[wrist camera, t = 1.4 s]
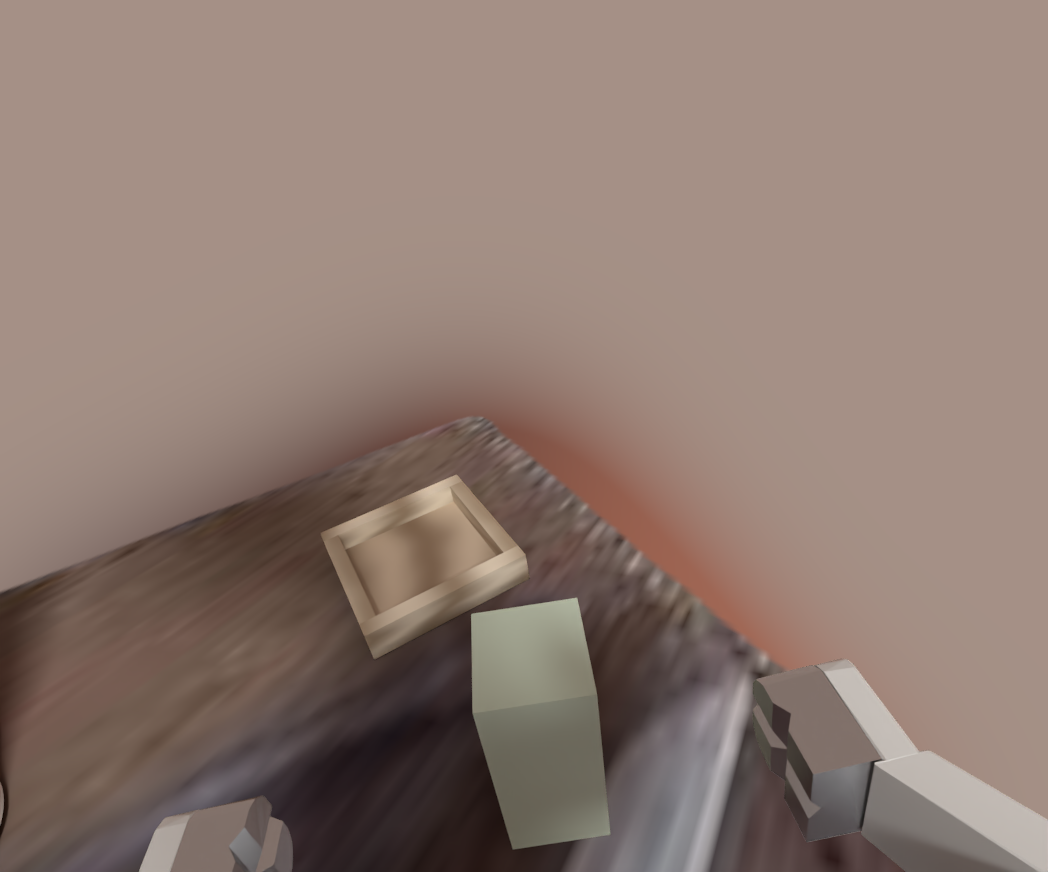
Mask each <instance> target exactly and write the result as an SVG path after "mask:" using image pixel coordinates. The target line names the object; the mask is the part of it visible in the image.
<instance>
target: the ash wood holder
mask: <svg viewBox="0 0 1048 872" xmlns="http://www.w3.org/2000/svg"><path fill="white" fill-rule="evenodd" d="M320 534H321V537H322V539H323V541H324V544H325V546H326V549H327V551H328V553H329V556H330V558H331V560H332V563H333V565H334V567H335V570H336V572H337V574H338V577H339V579H340V581H341V584H342V586H343V588H344V591H345V593H346V595H347V598H348V600H349V602H350V605H351V607H352V609H353V612H354V614H355V616H356V619H357V621H358V623H359V626H360V628H361V630H362V633H363V635H364V637H365V640H366V642H367V644H368V647H369V649H370V651H371V654H372V656H373V658H374V660H375V659H377V658H379V657H381V656H382V655H384V654H386V653H388V652H390V651H392V650H394V649H396V648H398V647H400V646H402V645H404V644H405V643H407V642H409V641H411V640H413V639H415V638H417V637H419V636H421V635H423V634H425V633H426V632H428V631H430V630H432V629H434V628H436V627H438V626H440V625H442V624H444V623H446V622H448V621H449V620H451V619H453V618H455V617H457V616H459V615H461V614H463V613H465V612H467V611H469V610H470V609H472V608H474V607H476V606H478V605H480V604H482V603H484V602H486V601H488V600H490V599H492V598H493V597H495V596H497V595H499V594H501V593H503V592H505V591H507V590H509V589H511V588H513V587H514V586H516V585H518V584H520V583H522V582H524V581H526V580H528V579H530V578H529V572H528V566H527V560H526V555H525V554H524V552H523V551H522V550H521V549H520V548H519V547H518V545H517V544H516V543H515V542H514V541H513V540H512V538H511V537H510V536H509V535H508V534H507V533H506V531H505V530H504V529H503V528H502V527H501V526H500V524H499V523H498V522H497V521H496V520H495V519H494V517H493V516H492V515H491V514H490V513H489V512H488V511H487V509H486V508H485V507H484V506H483V505H482V504H481V502H480V501H479V500H478V499H477V498H476V497H475V495H474V494H473V493H472V492H471V491H470V490H469V488H468V487H467V486H466V485H465V484H464V483H463V481H462V480H461V479H460V478H459V477H458V476H457V475H455V476H452V477H450V478H448V479H445V480H443V481H441V482H438V483H436V484H434V485H431V486H429V487H427V488H424V489H422V490H420V491H417V492H415V493H413V494H410V495H408V496H406V497H403V498H401V499H399V500H396V501H394V502H392V503H389V504H387V505H385V506H382V507H380V508H378V509H375V510H373V511H371V512H368V513H366V514H364V515H361V516H359V517H357V518H354V519H352V520H350V521H347V522H345V523H343V524H340V525H338V526H336V527H333V528H331V529H329V530H326V531H324V532H322V533H320Z"/></svg>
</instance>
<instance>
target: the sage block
mask: <svg viewBox="0 0 1048 872" xmlns="http://www.w3.org/2000/svg"><path fill="white" fill-rule="evenodd" d="M471 638H472V713H473V717H474V720H475V724H476V727H477V730H478V734H479V737H480V740H481V744H482V747H483V751H484V754H485V757H486V761H487V764H488V767H489V771H490V774H491V778H492V781H493V784H494V788H495V791H496V794H497V798H498V801H499V805H500V808H501V811H502V815H503V818H504V822H505V825H506V828H507V832H508V835H509V838H510V842H511V845H512V849H513V850H514V849H520V848H527V847H533V846H540V845H547V844H553V843H560V842H566V841H573V840H579V839H586V838H592V837H599V836H605V835H610V825H609V814H608V804H607V793H606V783H605V772H604V762H603V751H602V741H601V730H600V720H599V709H598V699H597V692H596V687H595V682H594V677H593V672H592V667H591V663H590V658H589V653H588V648H587V643H586V638H585V634H584V629H583V624H582V619H581V614H580V609H579V604H578V600H577V598H573V599H566V600H560V601H553V602H546V603H540V604H533V605H527V606H520V607H513V608H507V609H500V610H494V611H487V612H480V613H474V614H471Z"/></svg>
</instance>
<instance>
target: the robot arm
mask: <svg viewBox="0 0 1048 872" xmlns="http://www.w3.org/2000/svg"><path fill="white" fill-rule="evenodd" d="M753 695H754V697H755V699H756V701H757V703H758V705H757V706H756V707H755V708H754V710H753V726H754V730H755V734H756V738H757V741H758V744H759V746H760V749H761V751H762V754H763V756H764V758H765V760H766V762H767V764H768V766H769V768H770V770H771V771H772V772H774V773H775V774H776V775H778V776H779V777H781V778H782V779H784V780H785V794H784V799H785V801H786V803H787V804H788V806H789V808H790V810H791V812H792V814H793V816H794V818H795V820H796V822H797V824H798V826H799V828H800V830H801V832H802V834H803V836H804V838H805V840H806V842H810V841H815V840H820V839H824V838H829V837H834V836H839V835H844V834H848V833H853V832H858V831H862V832H861V834H862V835H863V836H864V837H865V838H866V839H868V840H869V841H870V842H871V843H872V844H874V845H875V846H876V847H877V848H878V849H880V850H881V851H882V852H883V853H884V854H886V855H887V856H888V857H889V858H890V859H892V860H893V861H894V862H895V863H896V864H897V865H899V866H900V867H901V868H902V869H903V870H905V871H906V872H1048V820H1047V819H1046V818H1044V817H1042V816H1040V815H1039V814H1037V813H1035V812H1034V811H1032V810H1030V809H1029V808H1027V807H1025V806H1024V805H1022V804H1020V803H1018V802H1017V801H1015V800H1013V799H1012V798H1010V797H1008V796H1007V795H1005V794H1003V793H1001V792H1000V791H998V790H996V789H995V788H993V787H991V786H990V785H988V784H986V783H984V782H983V781H981V780H979V779H978V778H976V777H974V776H972V775H971V774H969V773H967V772H966V771H964V770H962V769H961V768H959V767H957V766H956V765H954V764H952V763H950V762H949V761H947V760H945V759H944V758H942V757H940V756H938V755H937V754H935V753H933V752H932V751H930V750H925V751H918V750H917V748H916V747H915V745H914V744H913V743H912V741H911V740H910V739H909V737H908V736H907V735H906V733H905V732H904V731H903V730H902V728H901V727H900V725H899V724H898V723H897V722H896V720H895V719H894V717H893V716H892V715H891V713H890V712H889V711H888V710H887V708H886V707H885V705H884V704H883V703H882V702H881V700H880V699H879V698H878V696H877V695H876V694H875V692H874V691H873V690H872V688H871V687H870V686H869V684H868V683H867V682H866V680H865V679H864V678H863V676H862V675H861V674H860V672H859V671H858V670H857V668H856V667H855V666H854V664H852V663H851V662H849V661H848V660H847V659H838V660H834V661H830V662H826V663H822V664H818V665H814V666H813V665H811V666H806V667H802V668H798V669H795V670H791V671H787V672H783V673H779V674H775V675H771V676H767V677H763V678H759V679H756V680H755V681H754V683H753ZM3 809H4V794H3V789H2V785H1V782H0V824H1V820H2V815H3ZM271 810H272V805H271V804H270V803H269V802H268V801H267V799H266V798H265V797H264V796H259V797H255V798H250V799H246V800H242V801H237V802H233V803H228V804H224V805H220V806H215V807H211V808H207V809H202V810H195V811H191V812H187V813H183V814H179V815H175V816H170V817H166V818H164V820H163V821H162V822H161V824H160V825H159V826H158V828H157V829H156V830H155V832H154V834H153V837H152V840H151V842H150V845H149V847H148V850H147V852H146V855H145V857H144V860H143V862H142V865H141V867H140V870H139V872H292V866H293V842H292V839H291V836H290V832H289V829H288V828H287V826H286V825H285V823H284V822H283V821H281V820H278V819H275V818H273V817H270V814H271Z"/></svg>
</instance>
